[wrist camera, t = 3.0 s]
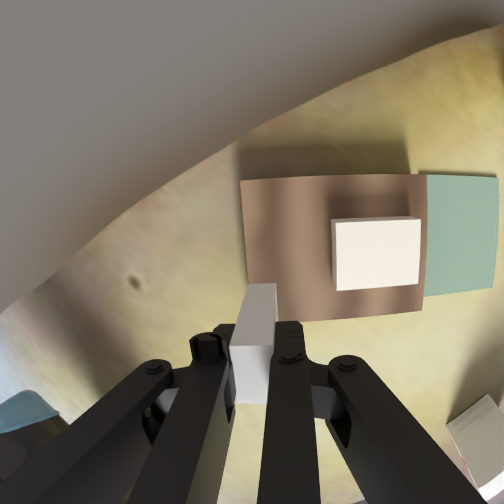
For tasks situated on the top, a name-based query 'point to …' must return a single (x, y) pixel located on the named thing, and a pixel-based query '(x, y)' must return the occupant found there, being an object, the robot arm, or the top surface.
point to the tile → (375, 252)
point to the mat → (461, 233)
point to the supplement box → (481, 444)
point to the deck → (325, 240)
